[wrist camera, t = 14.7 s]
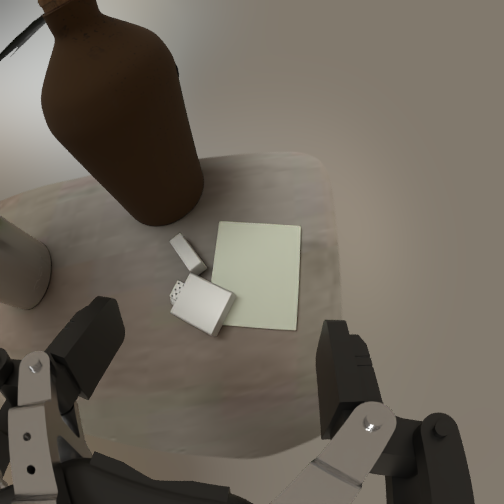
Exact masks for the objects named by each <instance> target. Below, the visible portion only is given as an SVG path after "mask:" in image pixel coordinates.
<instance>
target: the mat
mask: <svg viewBox="0 0 504 504" xmlns="http://www.w3.org/2000/svg"><path fill="white" fill-rule="evenodd" d="M300 233H301V226H292V225H277V224H261V223H244V222H225V221H220V222H219V229H218V236H217V243H216V250H215V257H214V265H213V272H212V280H211V282H212V283H214V284H216V285H218V286H221V287H223V288H225V289H227V290H229V291H231V292H233V293H234V294H235V295H236V299H235V301H234V303H233V305H232V307H231V309H230V311H229V313H228V315H227V317H226V319H225V321H224V323H223V325H228V326H239V327H250V328H263V329H277V330H294V331H296V323H297V306H298V287H299V264H300Z"/></svg>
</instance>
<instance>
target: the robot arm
mask: <svg viewBox="0 0 504 504" xmlns="http://www.w3.org/2000/svg"><path fill="white" fill-rule="evenodd" d="M50 274H51V259H50V254H49V251H48V249H47V247H46V246H45V245H44V244H43V243H41V242H40V241H38V240H37V239H35V238H33V237H32V236H30V235H29V234H27V233H25V232H24V231H23V230H21V229H20V228H18V227H16V226H15V225H13V224H12V223H10V222H9V221H8V220H6V219H5V218H3V217H2V216H0V302H1V303H4V304H7V305H11V306H14V307H17V308H20V309H30V308H33V307H34V306H35V305H37V304H38V303H39V301H40V300H41V299H42V297H43V295H44V294H45V292H46V289H47V287H48V283H49V280H50ZM124 337H125V328H124V325H123V321H122V318H121V314H120V311H119V307H118V304H117V301H116V300H115V299H114V298H108V297H102V296H97V297H96V298H95V299H94V300H93V301H92V302H91V303H90V304H89V306H86V307H85V308H83V309H82V310H80V311H78V312H77V313H76V314H75V315H74V316H73V318H72V319H71V320H70V322H68V323H67V325H66V326H65V329H62V331H61V332H60V333H59V334H58V335H57V337H56V338H55V339H54V340H53V342H52V343H51V344H50V345H49V346H48V348H47V349H46V350H45V351H44V352H43V351H34V352H31V353H29V354H27V355H26V356H25V357H24V358H23V359H22V360H14V359H10V357H9V355H8V354H7V352H6V351H5V350H4V349H2V348H0V392H1V393H2V394H3V396H4V397H5V398H6V401H5V403H4V404H3V406H2V408H1V410H0V504H253V503H251V502H249V501H247V500H246V499H243V498H241V497H239V496H236V495H234V494H231V493H230V487H225V486H218V485H212V484H206V483H200V482H194V481H159V480H153V479H151V478H149V477H147V476H145V475H143V474H142V473H140V472H138V471H136V470H135V469H133V468H132V467H130V466H128V465H127V464H125V463H124V462H121V461H118V460H116V459H113V458H110V457H108V456H105V455H103V454H100V453H98V452H94V454H93V455H92V453H91V452H90V450H89V448H88V446H87V444H86V441H85V438H84V433H83V428H82V424H81V419H80V414H79V408H78V404H77V402H76V399H77V397H78V396H79V397H82V398H85V399H87V400H89V399H90V397H91V395H92V393H93V392H94V390H95V388H96V386H97V385H98V383H99V381H100V379H101V378H102V376H103V374H104V372H105V371H106V369H107V367H108V366H109V364H110V362H111V361H112V359H113V357H114V356H115V354H116V352H117V351H118V349H119V348H120V346H121V344H122V343H123V340H124ZM316 373H317V384H318V396H319V410H320V425H321V439H331V441H330V442H329V444H328V445H327V446H326V447H325V448H324V450H323V451H322V452H321V453H320V454H319V456H318V457H317V458H316V459H314V460H313V461H311V463H310V464H308V466H307V467H306V468H305V469H304V470H303V471H302V472H301V473H300V474H299V475H298V476H297V477H296V478H295V479H294V481H293V482H291V483H290V484H289V485H288V487H286V488H285V490H283V491H282V492H281V493H280V494H279V495H278V496H277V497H276V498H275V499H274V500H273V501H272V502H271V503H270V504H351V503H352V501H353V500H354V499H355V497H356V496H357V494H358V493H359V491H360V489H361V487H362V483H363V481H364V479H365V478H366V477H367V475H368V474H369V473H372V474H379V475H385V480H386V498H387V504H475V503H474V496H473V490H472V484H471V479H470V474H469V469H468V465H467V461H466V456H465V452H464V448H463V444H462V440H461V437H460V433H459V430H458V426H457V424H456V422H455V421H454V420H453V419H452V418H451V417H450V416H448V415H446V414H444V413H433V414H430V415H429V416H427V417H426V418H425V419H424V420H423V421H415V420H409V419H403V418H400V417H397V416H395V414H394V413H393V411H392V410H391V409H390V408H389V407H388V406H386V405H384V404H383V402H382V398H381V395H380V391H379V387H378V383H377V379H376V376H375V372H374V369H373V367H372V361H371V358H370V355H369V351H368V348H367V345H366V343H365V342H364V341H363V340H362V339H361V338H360V336H359V335H349V331H348V327H347V324H346V321H344V320H325V321H324V323H323V327H322V331H321V335H320V340H319V344H318V348H317V353H316ZM9 462H10V463H11V470H12V478H13V485H10V486H8V484H7V482H6V481H4V480H3V476H4V473H5V471H6V469H7V466H8V464H9Z"/></svg>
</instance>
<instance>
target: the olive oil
mask: <svg viewBox="0 0 504 504" xmlns="http://www.w3.org/2000/svg"><path fill="white" fill-rule="evenodd" d="M38 3H39V5H40V7H42V8H43V10H44V13H45V14H44V15H43V18H44V19H45V21H46V23H47V25H48V27H49V29H50V31H51V32H52V34H53V35H54V38H55V44H54V48H53V51H52V55H51V58H50V61H49V65H48V68H47V71H46V75H45V79H44V83H43V87H42V95H41V105H42V109H43V114H44V117H45V120H46V123H47V125H48V127H49V129H50V131H51V132H52V134H53V135H54V136H55V138H56V139H57V140H58V141H59V142H60V143H61V144H62V145H63V146H64V147H65V148H66V149H67V150H68V151H69V152H70V153H71V154H72V155H73V156H74V158H75V159H76V160H77V161H78V162H80V164H82V165H83V167H84V168H85V169H86V170H87V171H88V172H89V173H90V174H91V175H92V176H93V177H94V178H95V179H96V180H97V181H98V182H99V183H100V184H101V185H102V186H103V187H104V188H105V189H106V190H107V191H108V192H109V193H110V194H111V195H112V196H113V197H114V198H115V199H116V200H117V201H118V202H119V203H120V204H121V205H122V206H123V207H124V208H125V209H126V210H127V211H128V212H129V213H130V214H131V215H132V216H133V217H134V218H135V219H136V220H138V221H139V222H141V223H143V224H146V225H151V226H161V225H166V224H170V223H172V222H175V221H177V220H179V219H180V218H182V217H184V216H185V215H186V214H187V213H189V212H190V211H191V210H192V209H193V207H194V206H195V205H196V204H197V202H198V200H199V199H200V196H201V194H202V191H203V185H204V179H203V174H202V170H201V167H200V163H199V160H198V156H197V153H196V148H195V145H194V141H193V137H192V133H191V129H190V125H189V121H188V117H187V113H186V109H185V104H184V100H183V96H182V91H181V86H180V82H179V73H178V68H177V66H176V64H175V62H174V59H173V56H172V54H171V52H170V51H169V49H168V48H167V46H166V45H165V44H164V43H163V41H162V40H161V39H160V38H159V37H158V36H157V35H156V34H155V33H153V32H152V31H150V30H148V29H146V28H144V27H141V26H138V25H135V24H132V23H129V22H126V21H122V20H119V19H116V18H112V17H109V16H106V15H104V14H102V13H101V12H100V11H99V9H98V5H97V2H96V0H38Z"/></svg>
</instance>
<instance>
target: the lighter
mask: <svg viewBox="0 0 504 504" xmlns="http://www.w3.org/2000/svg"><path fill="white" fill-rule="evenodd" d="M169 242H170V243H171V245H172V246H173V248H174V249H175V250H176V252H177V253H178V255H179V256H180V258H181V259H182V261H183V262H184V263H185V265H186V266H187V268H188V269H189V271H190V272H191V273H190V274H189V276H188V278H187V280H186V282H185V283H183V282H182V281H180V280H178V281H177V283H176V285H175V286H174V288H173V290H172V292H171V294H170V298H171V304H172V305H173V308H172V310H171V314H172V315H174V316H176V317H178V318H179V319H181V320H183V321H185V322H186V323H188V324H190V325H192V326H194V327H195V328H197V329H199V330H201V331H203V332H205V333H207V334H208V335H210V336H214V337H216V336H217V335H218V333H219V331H220V329H221V327H222V325H223V323H224V321H225V319H226V317H227V315H228V313H229V311H230V309H231V307H232V305H233V303H234V301H235V299H236V295H235V294H234V293H233V292H231V291H229V290H227V289H225V288H223V287H221V286H218V285H216V284H214V283H212V282H210V281H208V280H206V279H204V278H202V277H200V276H198V275H199V274H201V273H202V272H203V271H204V270H206V269H207V267H206V265H205V264H204V263H203V261H202V260H201V259H200V257H199V256H198V254H197V253H196V252H195V250H194V249H193V248H192V246H191V245H190V244H189V242H188V241H187V239H186V238H185V237H184V236H183V235H182V234H181V233H178V234H177V235H176V236H175V237H173V238H172V239H171V240H170V241H169Z"/></svg>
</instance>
